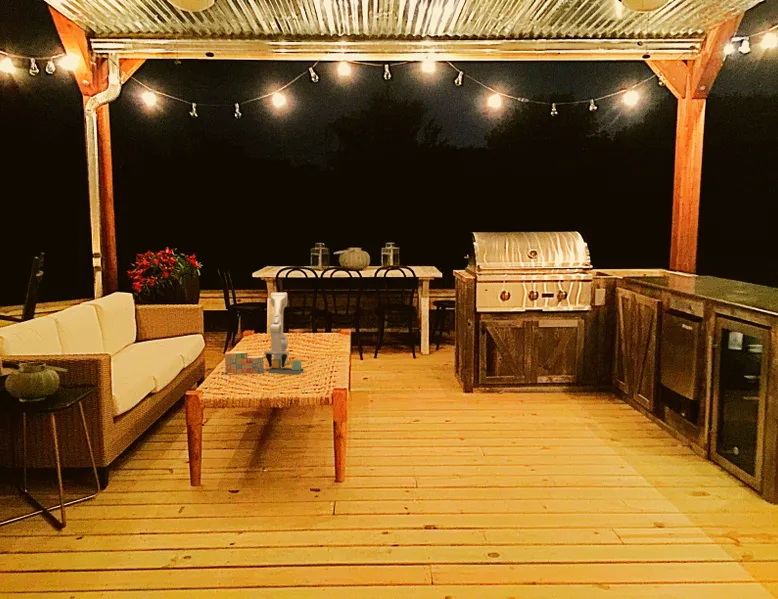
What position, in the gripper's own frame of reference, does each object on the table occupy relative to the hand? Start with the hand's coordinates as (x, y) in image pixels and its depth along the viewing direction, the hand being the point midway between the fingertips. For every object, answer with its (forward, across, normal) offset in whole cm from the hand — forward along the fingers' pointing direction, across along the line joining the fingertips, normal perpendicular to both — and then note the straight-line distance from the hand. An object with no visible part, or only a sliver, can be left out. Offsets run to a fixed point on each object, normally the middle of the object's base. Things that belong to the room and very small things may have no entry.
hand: (276, 366), depth 380 cm
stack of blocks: (+2, -16, -10) cm, 19 cm away
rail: (+2, +8, -8) cm, 11 cm away
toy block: (+2, 0, 0) cm, 2 cm away
